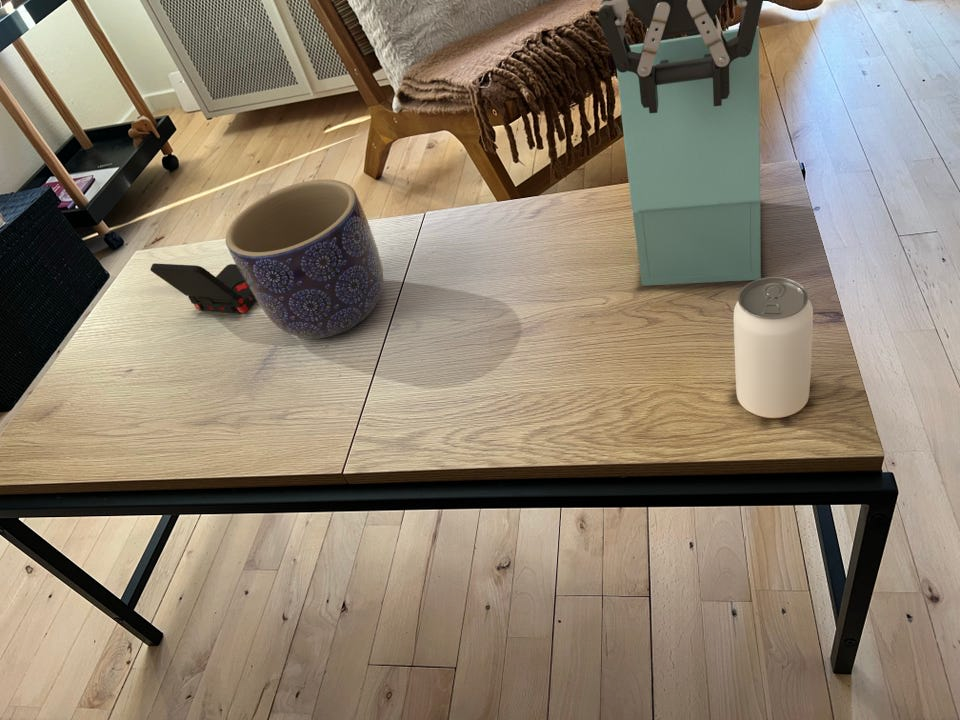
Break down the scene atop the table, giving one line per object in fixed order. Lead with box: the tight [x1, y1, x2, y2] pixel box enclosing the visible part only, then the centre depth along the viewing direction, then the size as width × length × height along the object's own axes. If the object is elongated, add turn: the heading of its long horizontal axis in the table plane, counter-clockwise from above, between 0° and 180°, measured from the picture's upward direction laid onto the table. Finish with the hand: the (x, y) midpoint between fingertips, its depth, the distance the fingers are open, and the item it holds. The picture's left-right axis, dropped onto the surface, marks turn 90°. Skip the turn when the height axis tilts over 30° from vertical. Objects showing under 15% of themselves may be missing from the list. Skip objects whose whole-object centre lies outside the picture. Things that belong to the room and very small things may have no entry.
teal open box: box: [632, 199, 762, 287], centre depth 91 cm, size 16×13×10 cm
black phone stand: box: [149, 262, 257, 315], centre depth 107 cm, size 9×12×10 cm
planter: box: [225, 179, 385, 340], centre depth 97 cm, size 16×16×15 cm
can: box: [733, 276, 814, 419], centre depth 70 cm, size 6×6×12 cm
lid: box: [616, 25, 762, 212], centre depth 76 cm, size 17×13×5 cm
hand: (685, 105), depth 72 cm, fingers closed on lid, 5 cm apart
